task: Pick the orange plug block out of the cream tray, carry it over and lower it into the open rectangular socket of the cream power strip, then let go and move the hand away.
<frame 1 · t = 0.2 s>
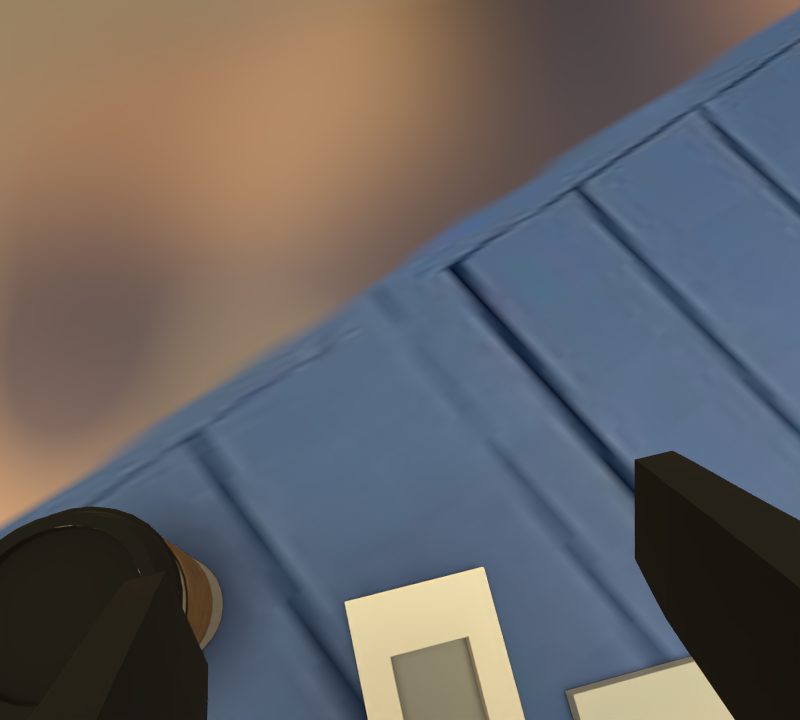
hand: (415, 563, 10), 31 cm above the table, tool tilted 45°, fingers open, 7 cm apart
coffee cup: (173, 609, 39), on the table
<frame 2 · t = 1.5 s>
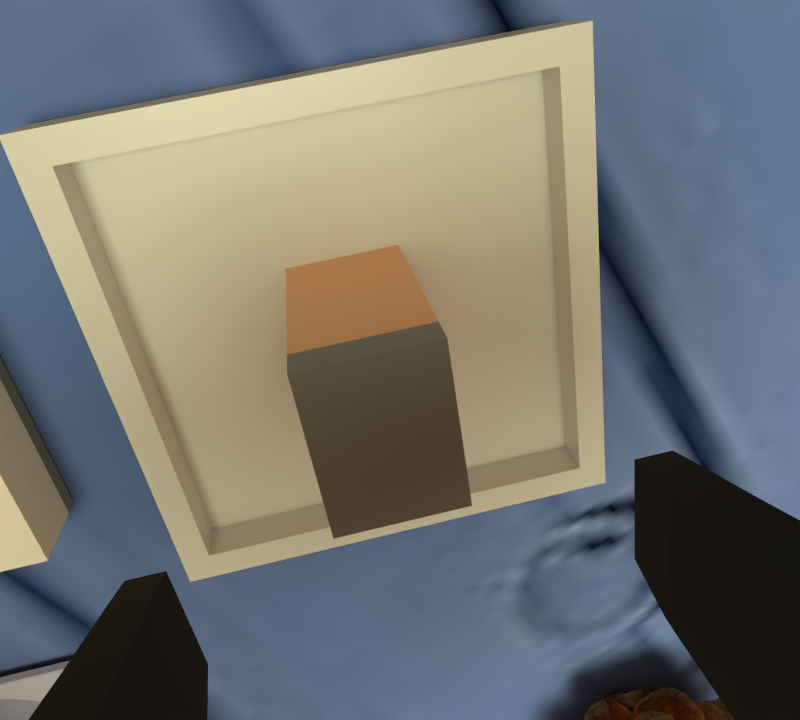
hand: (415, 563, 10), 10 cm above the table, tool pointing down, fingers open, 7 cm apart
plug: (356, 325, 18), point 1 cm above the table, touching tray
tray: (354, 316, 19), on the table
dragon fruit: (635, 717, 30), on the table
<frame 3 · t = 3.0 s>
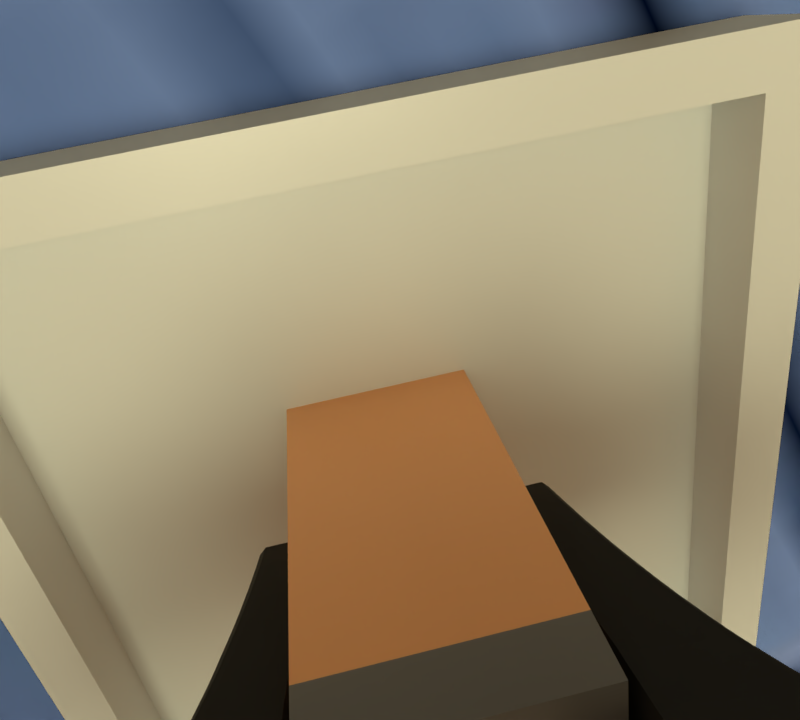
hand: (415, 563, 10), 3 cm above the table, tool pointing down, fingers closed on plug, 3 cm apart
plug: (396, 484, 12), point 1 cm above the table, touching gripper, tray
tray: (391, 464, 12), on the table
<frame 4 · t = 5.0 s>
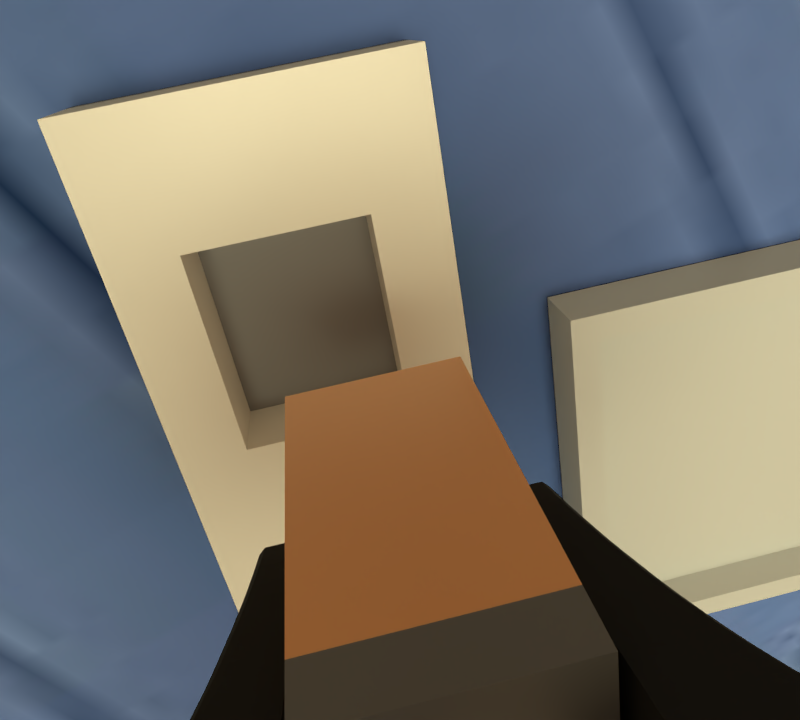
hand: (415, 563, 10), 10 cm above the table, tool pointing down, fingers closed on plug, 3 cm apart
plug: (394, 471, 12), point 8 cm above the table, touching gripper
tray: (741, 428, 23), on the table
power strip: (326, 394, 20), on the table
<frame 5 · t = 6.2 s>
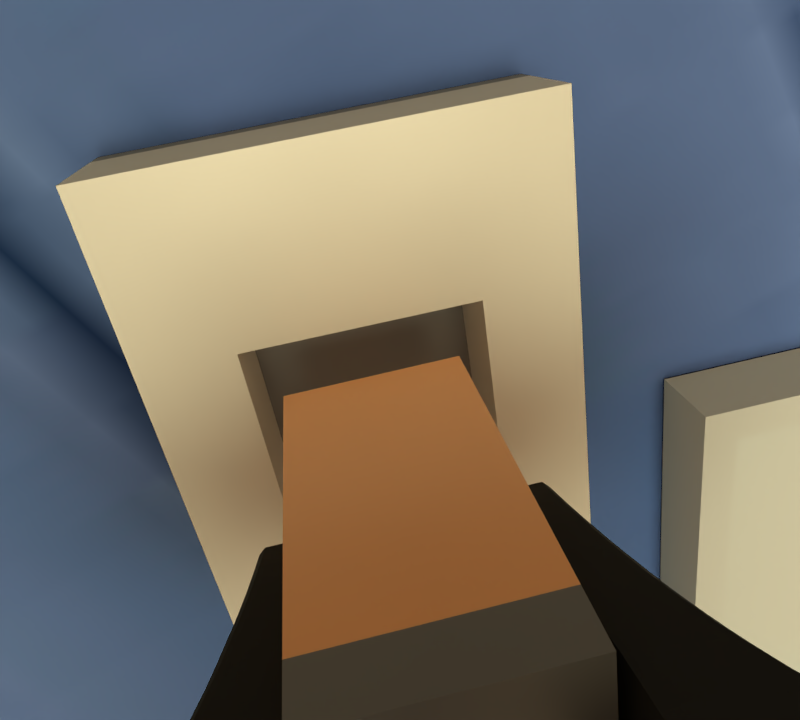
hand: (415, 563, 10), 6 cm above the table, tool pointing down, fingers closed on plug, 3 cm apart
plug: (393, 471, 12), point 3 cm above the table, touching gripper
power strip: (395, 493, 17), on the table
when the fingers open (3 cm above the table, at t = 7.1 s): plug stays where it is, resting on power strip.
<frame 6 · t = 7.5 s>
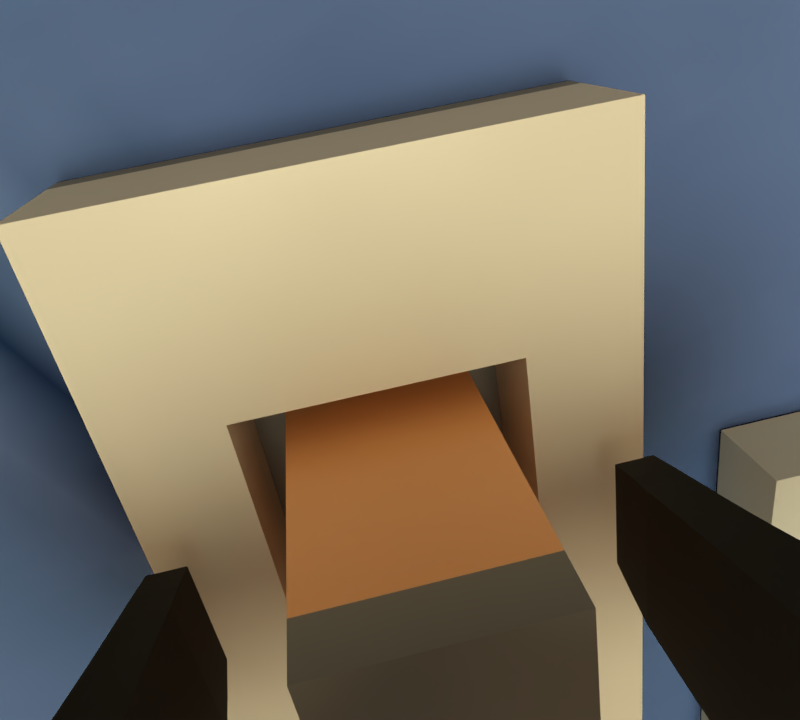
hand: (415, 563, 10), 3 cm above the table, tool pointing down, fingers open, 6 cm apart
plug: (390, 456, 13), resting on power strip
power strip: (411, 559, 14), on the table
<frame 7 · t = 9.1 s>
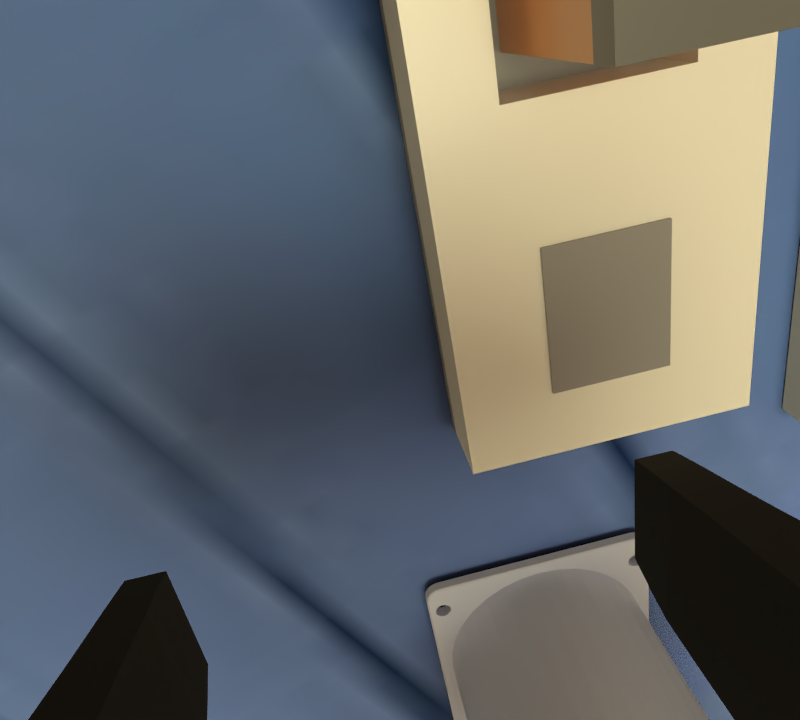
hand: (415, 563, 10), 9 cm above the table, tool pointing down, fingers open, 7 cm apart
power strip: (557, 88, 16), on the table
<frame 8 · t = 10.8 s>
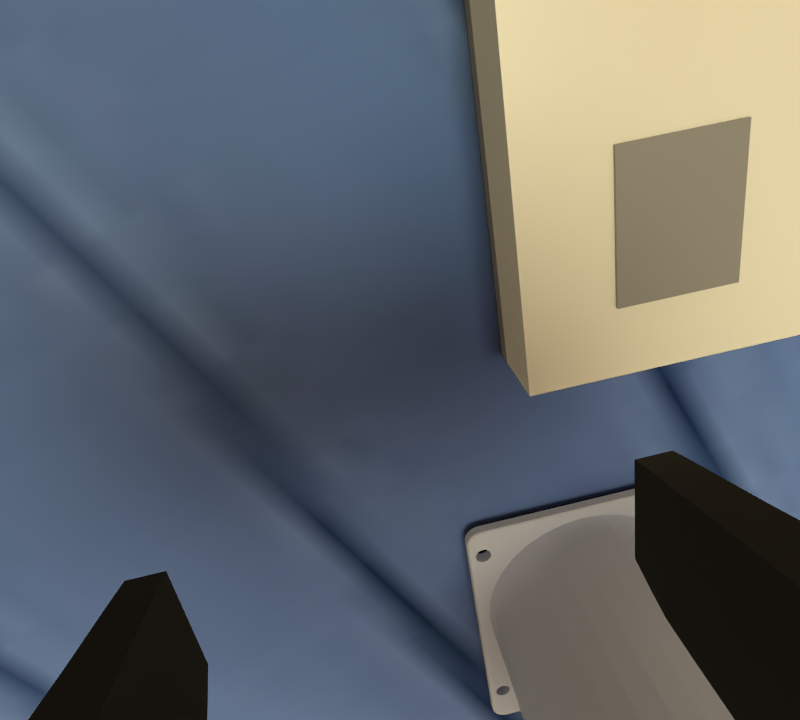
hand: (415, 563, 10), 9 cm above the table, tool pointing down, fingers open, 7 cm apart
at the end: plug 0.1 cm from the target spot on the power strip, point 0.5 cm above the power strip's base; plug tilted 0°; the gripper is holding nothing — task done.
